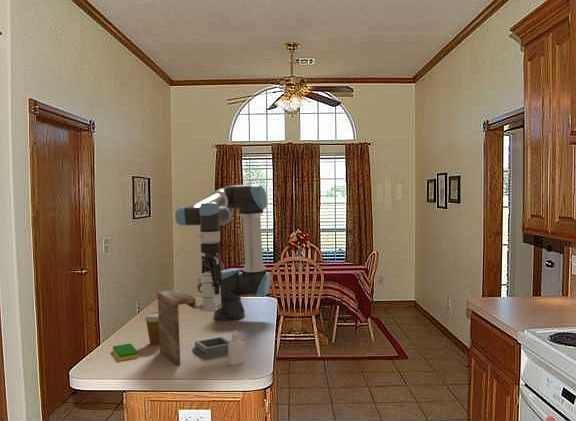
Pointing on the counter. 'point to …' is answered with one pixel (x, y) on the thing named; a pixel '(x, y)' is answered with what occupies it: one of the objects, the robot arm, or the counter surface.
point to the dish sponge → (125, 352)
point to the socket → (211, 347)
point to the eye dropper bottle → (235, 350)
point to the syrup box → (209, 293)
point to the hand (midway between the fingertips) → (212, 300)
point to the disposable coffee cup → (153, 327)
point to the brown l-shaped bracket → (171, 322)
